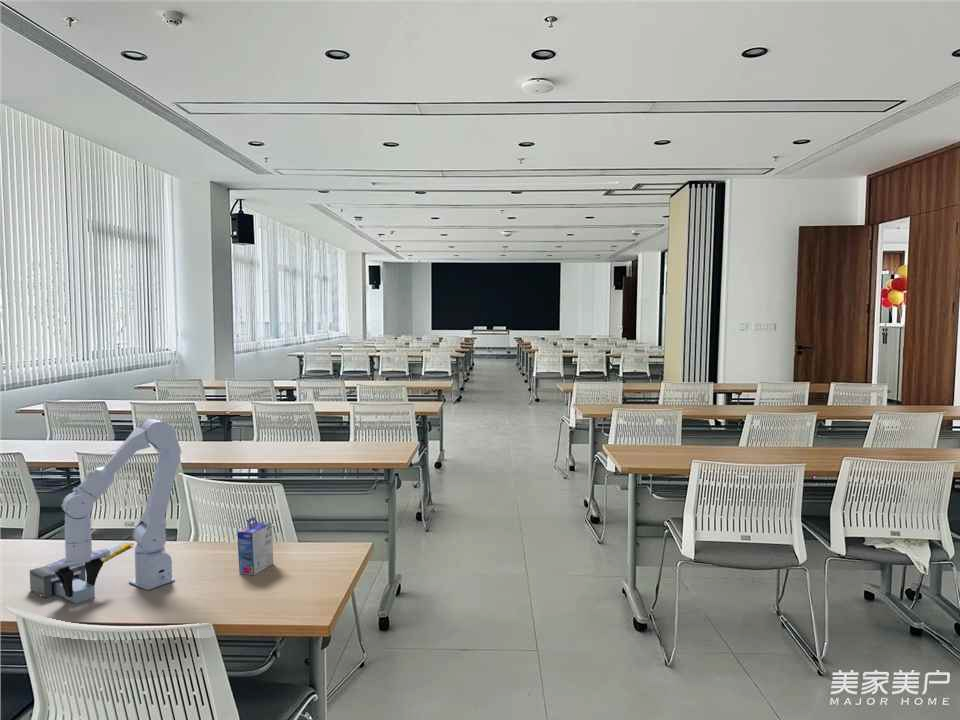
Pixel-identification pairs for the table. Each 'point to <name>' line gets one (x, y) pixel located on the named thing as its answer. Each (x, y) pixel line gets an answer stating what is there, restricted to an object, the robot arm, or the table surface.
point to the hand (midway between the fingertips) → (79, 592)
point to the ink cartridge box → (255, 547)
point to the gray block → (51, 579)
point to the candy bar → (118, 550)
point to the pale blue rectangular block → (75, 590)
